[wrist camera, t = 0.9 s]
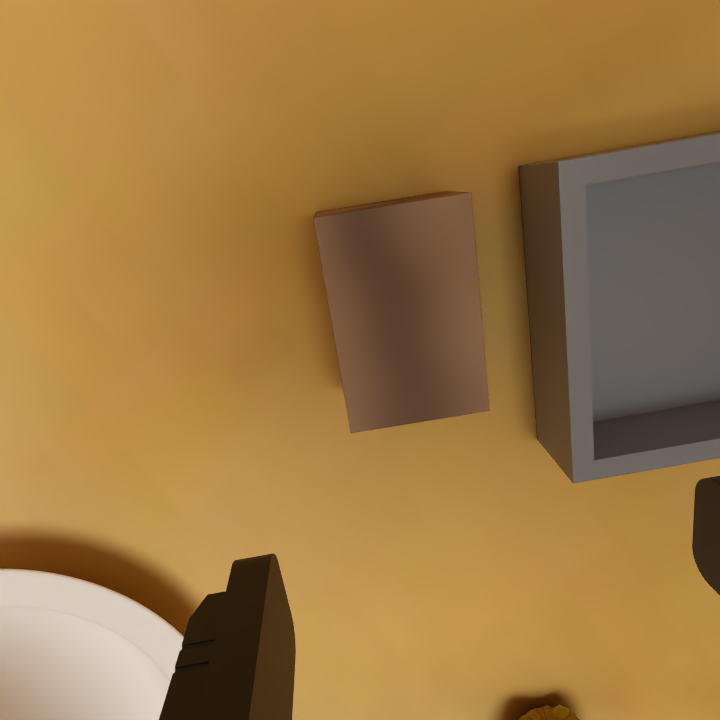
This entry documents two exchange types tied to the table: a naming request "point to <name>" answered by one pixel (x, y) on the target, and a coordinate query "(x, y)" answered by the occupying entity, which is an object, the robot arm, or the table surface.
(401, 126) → the table surface
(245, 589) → the robot arm
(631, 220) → the tray
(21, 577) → the candlestick
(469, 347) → the walnut block
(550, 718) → the food
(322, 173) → the table surface
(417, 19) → the table surface
